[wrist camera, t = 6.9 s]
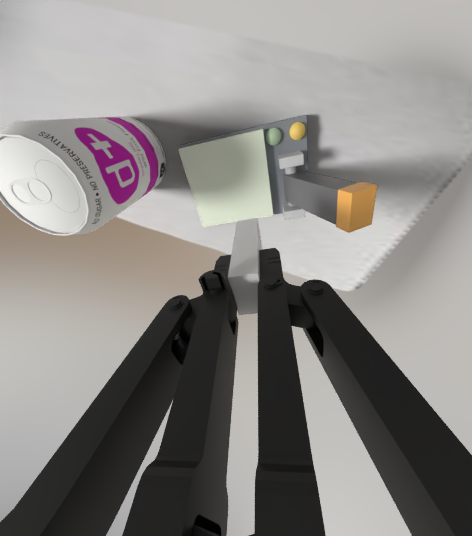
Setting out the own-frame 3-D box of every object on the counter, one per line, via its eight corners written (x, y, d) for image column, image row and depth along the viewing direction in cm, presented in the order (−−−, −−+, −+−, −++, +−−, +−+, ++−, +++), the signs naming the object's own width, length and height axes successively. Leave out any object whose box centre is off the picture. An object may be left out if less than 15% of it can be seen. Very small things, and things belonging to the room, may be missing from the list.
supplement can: (153, 110, 25) (50, 109, 13) (176, 185, 29) (116, 238, 17) (90, 122, 26) (-59, 133, 14) (121, 192, 31) (29, 246, 19)
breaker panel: (183, 144, 26) (172, 149, 23) (304, 114, 24) (311, 115, 20) (207, 221, 32) (200, 233, 29) (306, 204, 29) (312, 216, 26)
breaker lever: (279, 168, 25) (353, 185, 16) (296, 162, 25) (378, 176, 16) (282, 205, 27) (348, 239, 18) (298, 200, 28) (370, 230, 18)
